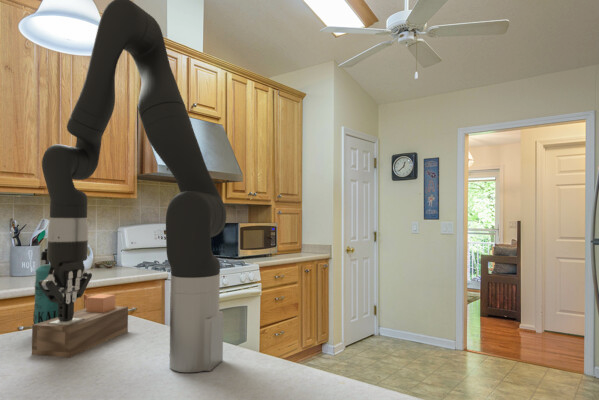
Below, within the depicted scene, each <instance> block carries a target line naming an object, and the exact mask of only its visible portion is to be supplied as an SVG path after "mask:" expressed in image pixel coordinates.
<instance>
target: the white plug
mask: <svg viewBox="0 0 599 400" xmlns="http://www.w3.org/2000/svg"><path fill="white" fill-rule="evenodd" d="M81 320H83V319H81V318H73V319H72V320H70V321H67V322H64V321H59V320H56V321H53V322H50V323H49V324H57V325H70V324H72V323H75V322H78V321H81Z"/></svg>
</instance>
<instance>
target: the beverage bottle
mask: <svg viewBox="0 0 599 400" xmlns="http://www.w3.org/2000/svg"><path fill="white" fill-rule="evenodd" d="M40 260H41V261H47V250H45V251H42V252H41V258H40ZM50 266H51V264H48V263H47V264H41V265H40V266H38V267H37V268H36V269H35V283H34V294H33V295H34V304H33V308H34V310H33V317H32V318H33V325H34V324H37V323H41V322H44V321H47V320H50V319H53V318H56V317H58V303H55V302H50V300H49V299H48V298H47V296H46V295H45V293H44V292H43V290H42V289H41V288H40V286H39V284H38V283H39V281H40V280H45V279H46V278H47V277H48V276H49V274H48V272H49V269H50ZM62 295H63V293H62Z"/></svg>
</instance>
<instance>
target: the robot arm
mask: <svg viewBox="0 0 599 400" xmlns="http://www.w3.org/2000/svg"><path fill="white" fill-rule="evenodd" d="M95 35H96V36H95V38H94V43H93V46H92V50H91V55H90V57H89V63H88V67H87V71H86V75H85V79H84V82H83V85H82V89H81V91H80V92H79V96H78V98H77V101H76V103H75V105H74V107H73V110H72V111H71V114H70V117H69V119H68V121H67V124H66V130H67V132H68V133H69V134H70V135H72V136H73V137H75V138H76V143H75V145H74V146H69V145H66V144H58V143H57V144H56V143H55V144H52V145H50V146H49V147H48V148H47V149H46V150H45V151H44V153H43V156H42V160H41V168H42V169H41V170H42V174H43V177H44V182H45V184H46V189H47V192H48V195H49V196H48V197H49V199H50V202H49V222H48V227H47V245H46V246H47V248H46V251H47V260H46V261H47V262H48V263H50V264H51V266H50V269H49V272H48V274H49V276H48V277H47V278H46V279H45V280H40V281H39V283H38V284H39V286H40V288H41V289H42V290H43V292H44V293H45V295H46V296H47V298H48V299H49V300H50V302H55V303H58V319H59V321H64V322H67V321H70V320H72V319H73V315H74V312H75V303H76V301H77V299H79V298H82V297H83V295H84V293H85V291H86V289H87V287H88V285H89V283H90V281H91V279H92V277H93V274H92V273H91V272H87V271H86V270H85V269H86V267H85V263H84V261H87V260H88V252H89V251H88V246H89V242H88V241H89V225H88V195H87V194H86V193H85V192H83V191H82V190H80V189H77V188H76V186H75V184H74V183H75V182H74V180H75V181H76V180H77V181H84V180H86V179H89V178H90V177H92V176H93V174H94V173H95V172H96V170H97V168H98V165H99V162H100V161H99V160H100V154H101V149H102V148H101V147H102V139H103V136H104V133H105V131H106V129H107V127H108V125H109V122H110V120H111V118H112V116H113V113H114V111H115V110H114V109H115V105H116V104H115V103H116V86H115V85H116V71H117V65H118V62H119V59H120V57H121V55H122V53H123V51H126V52H127V53H128V54H129V55H131V57H132V59H133V61H134V64H135V66H136V68H137V72H138V74H139V76H140V81H141V82H140V83H141V85H140V90H139V96H138V102H137V104H138V114H139V117H140V120H141V123H142V126H143V130H144V132H145V135H146V138H147V140H148V141H149V143H150V145H151V147H152V148H153V150H154V151H155V153H156V154H157V156H158V157H159V158H160V160H161V161H162V163H163V164H165V166H166V167H167V168H168V170H169V171H170V173H171V175H172V176H173V177H174V179H175V182H176V184H177V186H178V190H179V193H177V194H176V195H174V197H173V198H171V200H170V201H169V204H168V206H167V209H166V215H165V240H166V241H165V242H166V258H167V261H168V263H169V266H170V299H169V300H170V303H169V304H170V306H169V307H170V309H169V313H170V314H169V368H170V369H171V370H172V371H175V372H180V373H197V372H210V371H212V370H214V368H216V367H217V366H218V365H219V364H220V363H221V362H222V361H223V358H224V356H223V355H224V354H223V353H224V347H223V346H224V345H223V344H224V312H223V311H222V310H221V311H220V286H221V284H220V281H221V280H220V279H221V278H220V277H221V276H220V275H221V263H220V260H219V258H217V257H216V256H215V255H214V253H213V250H212V239H211V238H213V237H216V236H218V235H220V233H221V232H223V229H224V227H225V225H226V222H227V210H226V206H225V204H224V201H223V199H222V197H221V194H220V193H219V191H218V189H217V186H216V185H215V182H214V180H213V179H212V176H211V174H210V172H209V170H208V167H207V165H206V162H205V160H204V156H203V153H202V151H201V147H200V145H199V144H200V143H199V142H198V139H197V136H196V134H195V130H194V128H193V125H192V120H191V119H190V115H189V113H188V110H187V107H186V103H185V102H184V99H183V97H182V94H181V92H180V89H179V87H178V84H177V80H176V79H175V78H176V77H175V75H174V73H173V70H172V67H171V64H170V59H169V56H168V52H167V48H166V43H165V39H164V35H163V32H162V28H161V25H159V23H158V21H157V20H156V19H155V18H154V16H152V15H151V14H150V13H148V12H147V11H145V10H144V9H143V8H141V6H139V5H137V4H136V3H135V2H133V1H132V0H111V1H110V2H109V3H108V4H107V6H106V7H105V8H104V10H103V12H102V14H101V17H100V19H99V23H98V27H97V31H96V34H95ZM62 293H63V295H62Z"/></svg>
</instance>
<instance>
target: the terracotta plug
mask: <svg viewBox="0 0 599 400" xmlns="http://www.w3.org/2000/svg"><path fill="white" fill-rule="evenodd" d="M115 306H116V294H109V293H108V294H106V293H98V294H94V295H91V296H87V297H86V308H87V312H100V313H104V312H107V311H110V310H113V309H115Z"/></svg>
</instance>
